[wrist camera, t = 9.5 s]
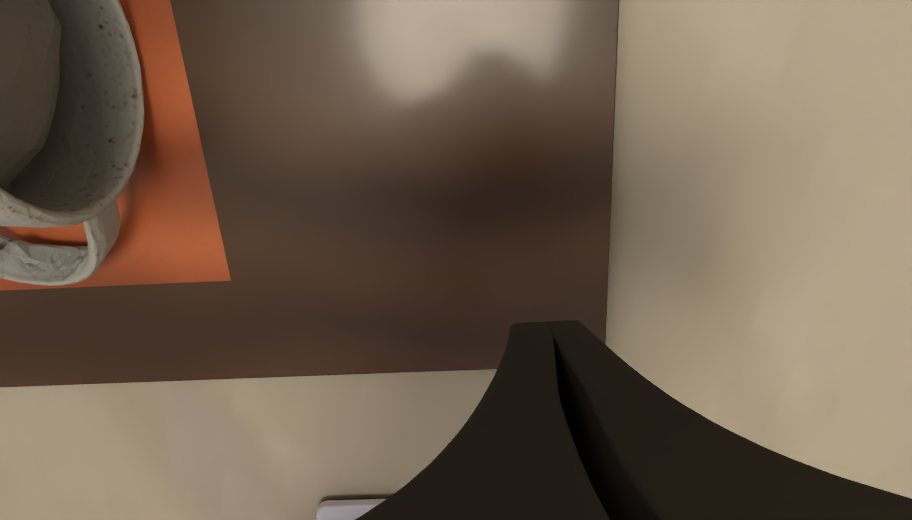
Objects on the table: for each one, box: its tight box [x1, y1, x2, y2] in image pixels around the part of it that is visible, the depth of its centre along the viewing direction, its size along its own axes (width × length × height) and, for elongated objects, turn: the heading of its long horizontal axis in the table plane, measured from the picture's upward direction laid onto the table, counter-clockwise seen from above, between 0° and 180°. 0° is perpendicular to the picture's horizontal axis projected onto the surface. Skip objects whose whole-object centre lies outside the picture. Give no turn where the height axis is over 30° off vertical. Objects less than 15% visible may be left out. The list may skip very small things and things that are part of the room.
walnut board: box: [0, 0, 619, 387], centre depth 20 cm, size 15×25×1 cm, turn 93°
